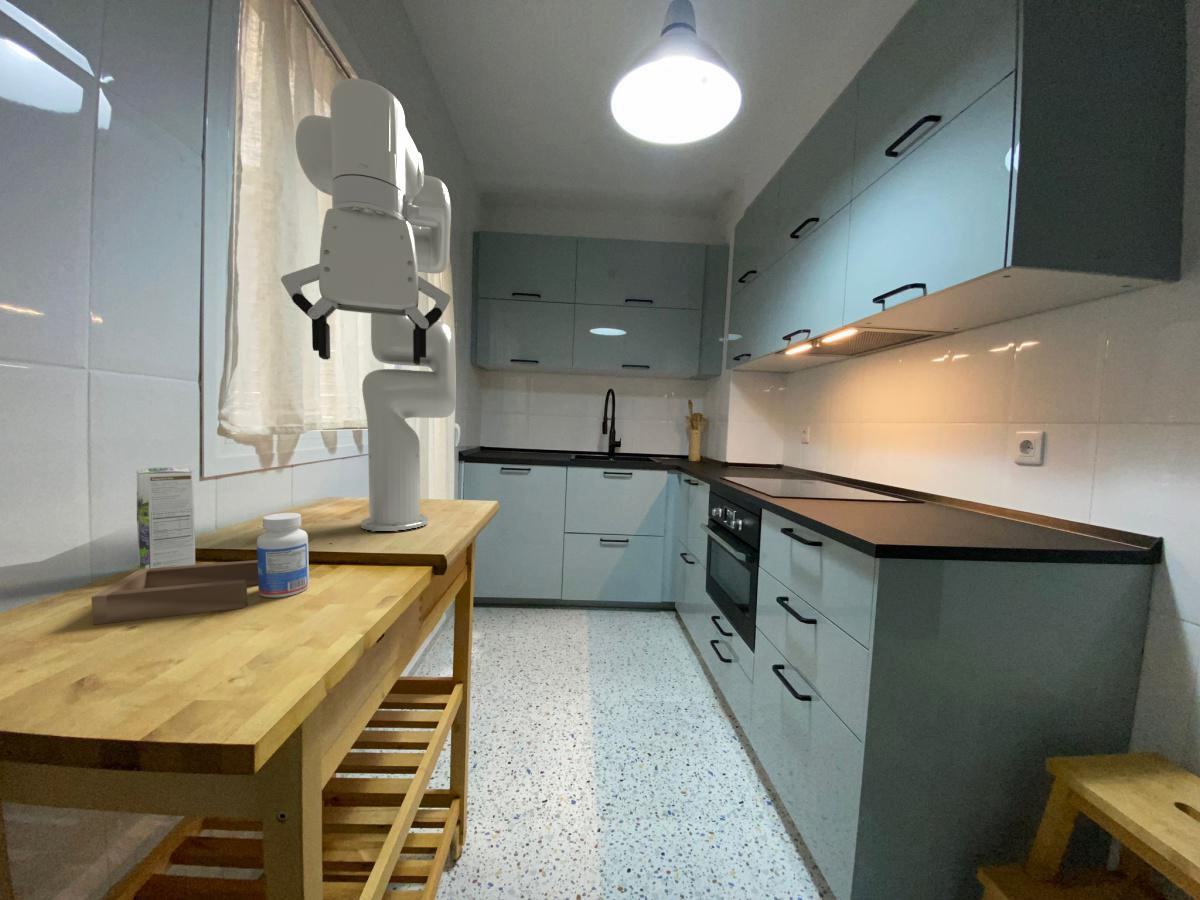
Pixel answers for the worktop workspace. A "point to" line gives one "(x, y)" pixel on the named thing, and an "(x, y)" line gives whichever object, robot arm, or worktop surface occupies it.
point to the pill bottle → (282, 556)
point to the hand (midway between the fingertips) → (372, 361)
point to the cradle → (175, 591)
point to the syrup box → (165, 517)
